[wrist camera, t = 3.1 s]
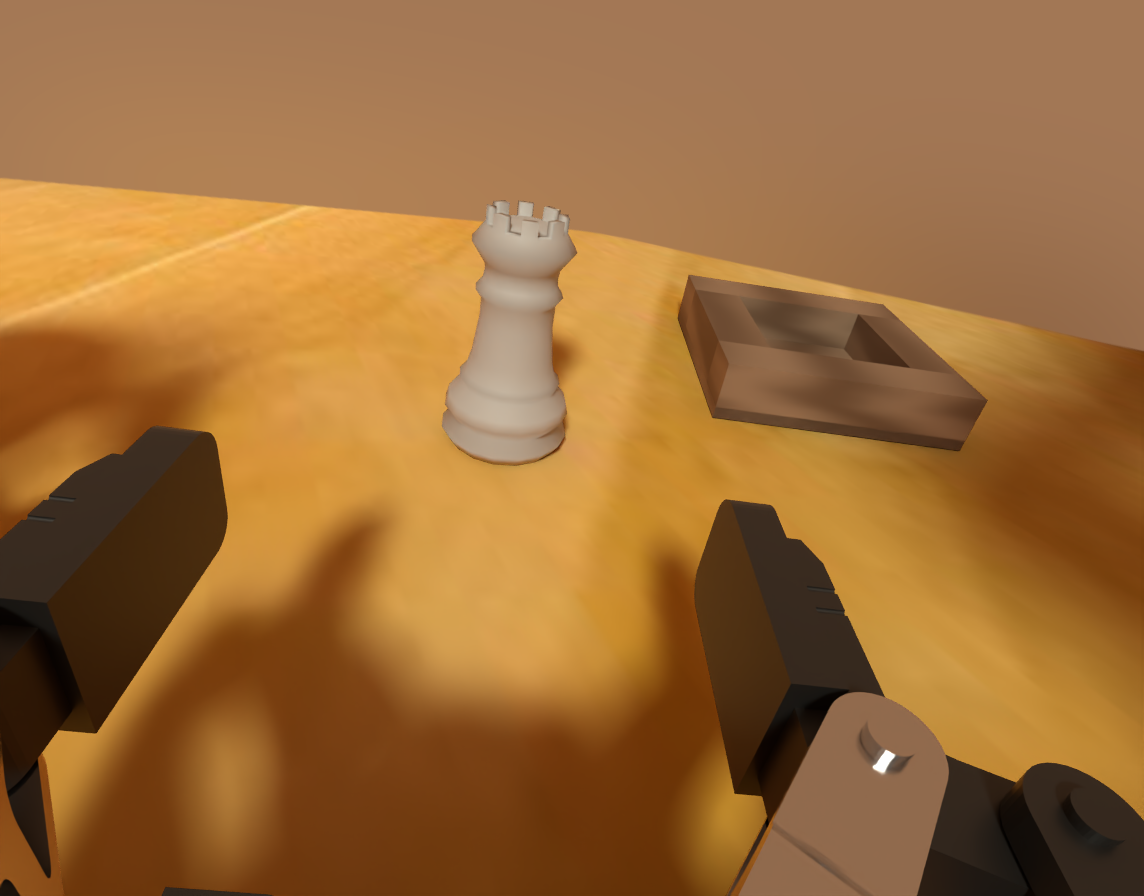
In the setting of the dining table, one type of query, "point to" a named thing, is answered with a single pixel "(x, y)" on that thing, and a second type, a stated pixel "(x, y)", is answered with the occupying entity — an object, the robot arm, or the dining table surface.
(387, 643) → the dining table surface
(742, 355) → the square tray
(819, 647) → the robot arm
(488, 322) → the rook chess piece
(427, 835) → the dining table surface
